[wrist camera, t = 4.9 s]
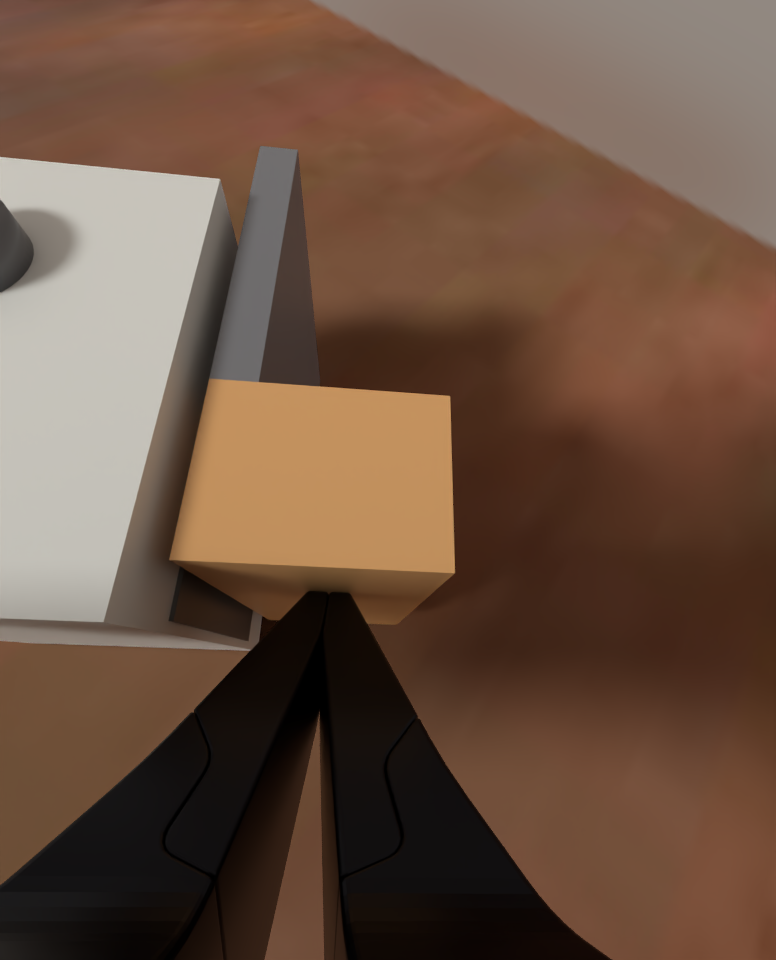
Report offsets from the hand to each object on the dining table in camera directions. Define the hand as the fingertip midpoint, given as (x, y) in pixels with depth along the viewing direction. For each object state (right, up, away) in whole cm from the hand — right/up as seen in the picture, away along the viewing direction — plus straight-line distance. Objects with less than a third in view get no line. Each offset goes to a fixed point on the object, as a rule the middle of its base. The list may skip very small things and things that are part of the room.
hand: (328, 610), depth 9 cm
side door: (0, +2, +7) cm, 7 cm away
